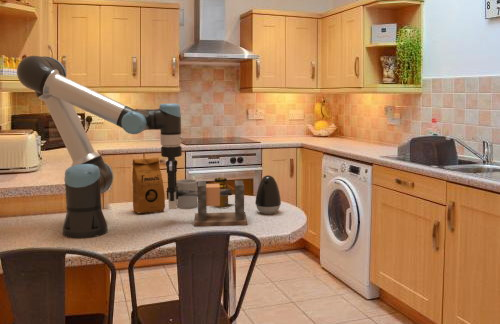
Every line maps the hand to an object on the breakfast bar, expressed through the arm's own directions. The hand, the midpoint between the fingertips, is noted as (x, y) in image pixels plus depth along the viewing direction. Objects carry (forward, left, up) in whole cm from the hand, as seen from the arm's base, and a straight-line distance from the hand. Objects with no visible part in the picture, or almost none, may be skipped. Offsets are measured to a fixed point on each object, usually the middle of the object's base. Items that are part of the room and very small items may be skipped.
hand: (173, 207), depth 204 cm
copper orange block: (+19, +25, -6) cm, 32 cm away
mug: (+4, +27, -6) cm, 28 cm away
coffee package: (-11, +18, -6) cm, 22 cm away
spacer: (+15, 0, +1) cm, 15 cm away
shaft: (+10, 0, +3) cm, 10 cm away
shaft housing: (+18, 0, -6) cm, 19 cm away
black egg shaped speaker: (+37, +11, -6) cm, 39 cm away
